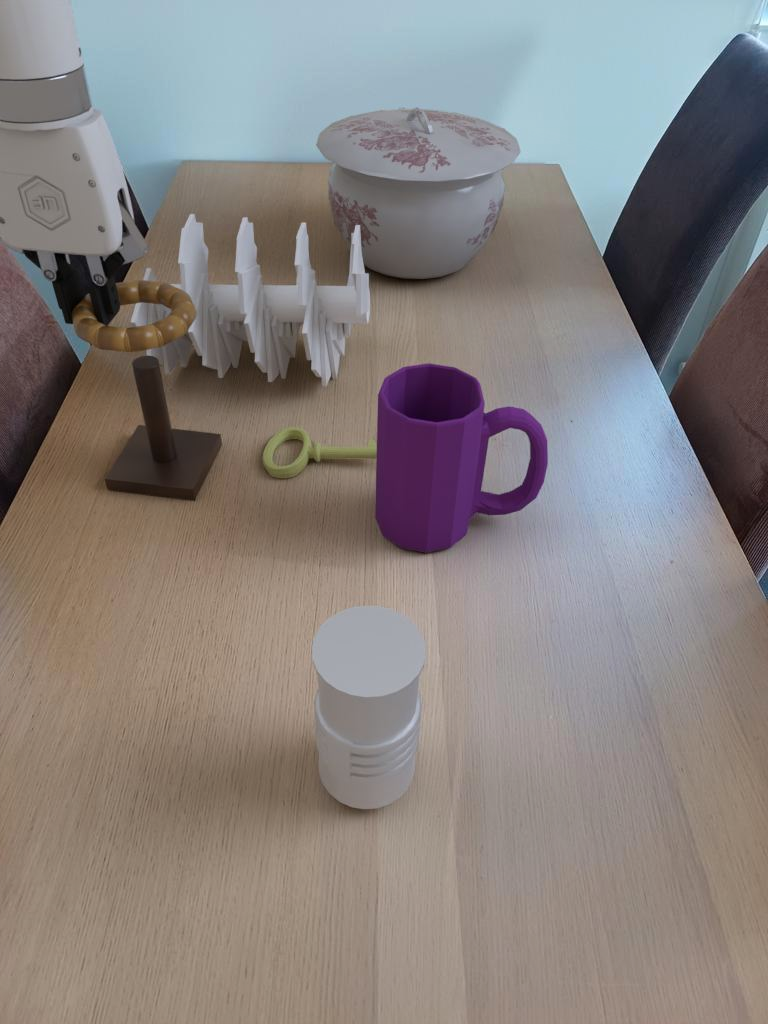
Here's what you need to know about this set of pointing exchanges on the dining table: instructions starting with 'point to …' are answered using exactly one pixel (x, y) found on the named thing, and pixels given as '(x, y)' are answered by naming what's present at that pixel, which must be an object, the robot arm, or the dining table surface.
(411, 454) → the mug
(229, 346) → the spiral staircase
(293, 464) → the key
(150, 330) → the ring
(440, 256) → the chamber pot
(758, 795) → the dining table surface
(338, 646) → the white lidded bottle
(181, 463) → the peg stand
